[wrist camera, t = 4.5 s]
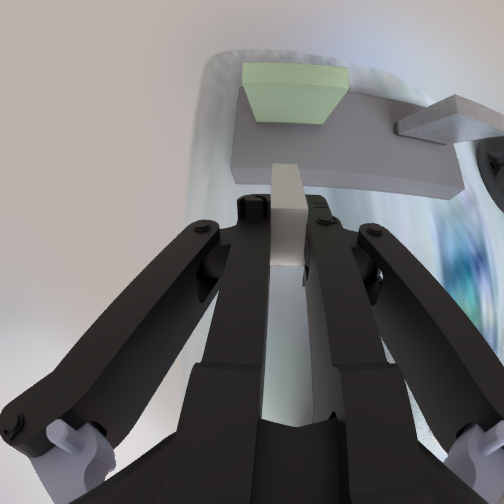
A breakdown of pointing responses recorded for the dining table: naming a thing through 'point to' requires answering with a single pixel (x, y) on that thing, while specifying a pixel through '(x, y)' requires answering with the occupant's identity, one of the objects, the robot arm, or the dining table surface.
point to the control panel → (347, 150)
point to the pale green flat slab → (293, 92)
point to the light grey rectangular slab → (451, 122)
